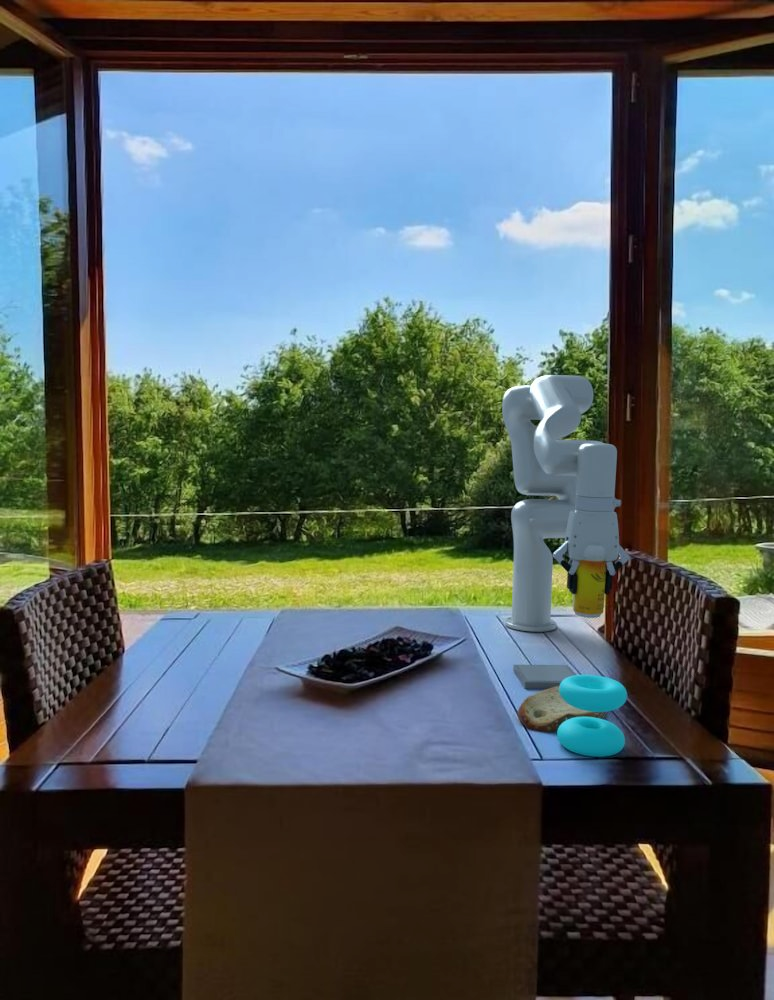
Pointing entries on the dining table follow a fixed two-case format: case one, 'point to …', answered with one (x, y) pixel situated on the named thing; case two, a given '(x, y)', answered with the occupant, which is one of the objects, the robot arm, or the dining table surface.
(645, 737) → the dining table surface
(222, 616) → the dining table surface
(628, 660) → the dining table surface
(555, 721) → the bread slice
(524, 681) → the slate coaster
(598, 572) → the beer can
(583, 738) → the donuts
